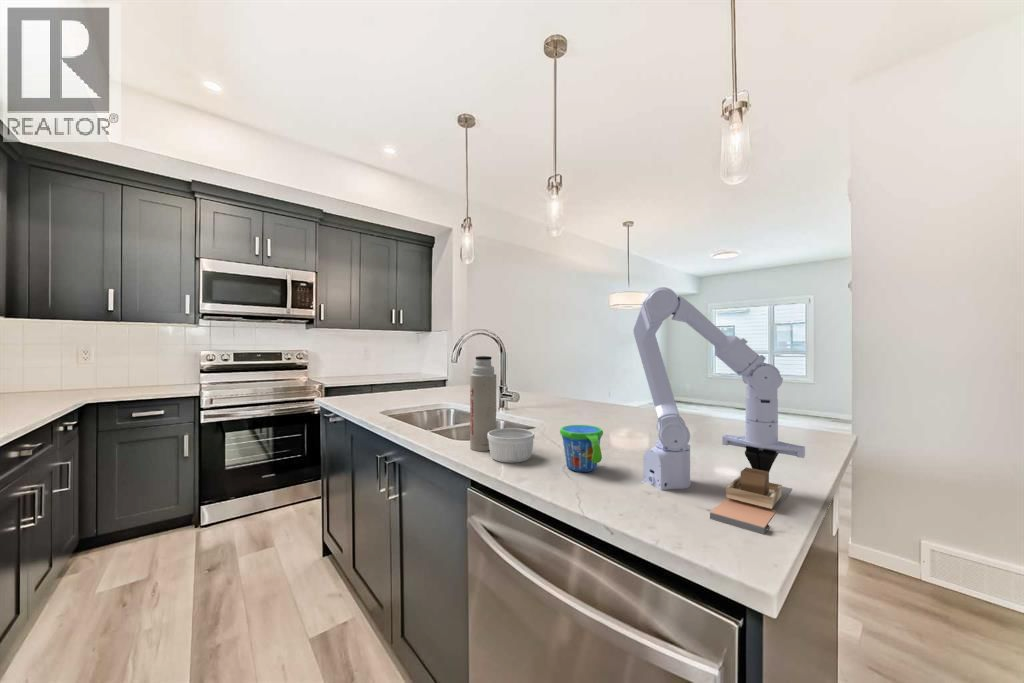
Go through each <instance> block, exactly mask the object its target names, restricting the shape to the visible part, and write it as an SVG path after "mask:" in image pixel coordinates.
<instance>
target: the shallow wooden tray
mask: <svg viewBox="0 0 1024 683" xmlns="http://www.w3.org/2000/svg"><path fill="white" fill-rule="evenodd" d="M782 486H783V485H782V484H779V483H774V482H769V492H768V494H767V495H766V496H764V495H760V494H756V493H751V492H747V491H743V490H741V475H739V476H738V477H737V478H735V479H733V481H732V482H731V483H729V484H728V485H727V486H726V488H725V497H726V498H731V499H734V500H738V501H742V502H746V503H750V504H754V505H758V506H762V507H766V508H770V509H773V507H774V505H775V504H776V503H777V501H778V500H780V497H781V496H782Z"/></svg>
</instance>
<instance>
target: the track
mask: <svg viewBox="0 0 1024 683" xmlns="http://www.w3.org/2000/svg"><path fill="white" fill-rule="evenodd" d="M791 491H793V488H792V487H786V486H783V485H782V496H781V497H780V500H778V501H777V503H776V504H775V505H774V507H773V509H770V508H766V507H762V506H758V505H754V504H750V503H746V502H742V501H738V500H734V499H731V498H727V497H726V498H724V499H723V500H722V501H721V502H720V503H719V504H718V505H717V506H716V507H714V508H713V509H712V510H711V511H710V512H709V519H711V520H713V521H718V522H721V523H724V524H727V525H730V526H731V525H732V526H734V527H738V528H741V529H745V530H748V531H752V532H755V533H758V534H762V535H765V533H766V532H767V531H768V529H769V528H770V526H771V525H770V524H769V522H770V521H771V520H772V518H773V516H774V515H775V514H776V512H777V511H778V510H779V509H780V507H781V506H782V504H783V503H784V501H785V500H786V498H787V497H788V495H790V493H791Z"/></svg>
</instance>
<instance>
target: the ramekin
mask: <svg viewBox="0 0 1024 683" xmlns="http://www.w3.org/2000/svg"><path fill="white" fill-rule="evenodd" d="M487 438H488V440H489V449H490V451H489V455H490V457H491V458H492V459H493V460H494V461H497V462H500V463H508V464H509V463H510V464H511V463H512V464H513V463H522V462H525V461H528V460H529V459H530V458H531V456H532V454H533V449H534V440H535V432H534V431H532V430H530V429H526V428H525V429H524V428H519V427H517V428H516V427H506V428H505V427H504V428H496V429H495V430H492V431H489V432H488V436H487Z"/></svg>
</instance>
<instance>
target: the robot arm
mask: <svg viewBox="0 0 1024 683" xmlns="http://www.w3.org/2000/svg"><path fill="white" fill-rule="evenodd" d="M671 315H672V317H671V320H672V321H677V322H683V323H685V324H687V325H688V326H689V327H690V328H692V329H693V330H694V331H695V332H697V333H698V334H699V335H700V336H701V337H703V338H704V339H705V340H706V341H708V342H709V343H710V344H711V345H712V346H713V347H714V356H716V357H717V358H718V359H719V360H721V362H722V363H723V364H725V365H726V366H727V367H728V368H729V369H731V370H732V371H733V372H734V373H735V374H736V375H737V376H741V379H742V382H744V384H745V385H746V387H745V389H746V391H745V392H746V394H745V395H746V396H745V436H742V435H731V434H723V435H722V437H721V438H722V441H721V442H722V444H721V445H723V446H734V447H740V448H745V450H744V455H745V457H746V458H747V460H748V463H749V464H750V468H753V469H758V470H763V471H768V472H769V473H770V471H771V469H772V466H773V464H774V463H775V462H776V458H777V457H778V455H779V454H782V455H786V456H787V455H788V456H794V457H797V458H801V459H804V458H805V457H806V446H803V445H798V444H793V443H788V442H784V441H779V399H778V389H779V388H780V387H781V386H782V384H783V381H784V378H783V377H782V374H780V373H781V372H780V370H779V369H778V368H777V367H776V366H775V365H773V364H770V363H766V362H765V360H767V357H765V356H764V355H763V354H760V355H759V354H758V353H757V352H756V351H755V350H753V349H752V347H750V346H748V344H747V343H748V340H747V339H745V338H744V337H738V336H737V335H727V334H725V333H724V332H723V331H721V330H720V328H719V327H717V326H716V325H715V324H714V323H713V322H712V321H711V320H710V319H708V318H707V317H706V316H705V315H704V314H703V313H702V312H701V311H699V309H698V308H696V307H695V305H693V304H692V303H690V302H689V301H688V300H687V299H686V298H684V297H683V296H681V295H677V293H676V292H675V291H674V290H673V289H671V288H668V287H664V286H663V287H657V288H655V289H653V290H652V291H650V293H649V294H648V295H647V296H646V298H645V299H644V301H643V302H642V304H641V306H640V310H639V312H638V315H637V318H636V320H635V323H634V326H633V331H632V332H633V336H634V340H635V343H636V347H637V350H638V353H639V357H640V360H641V364H642V368H643V370H644V373H645V374H644V375H645V378H646V380H647V384H648V388H649V391H650V395H651V398H652V402H653V404H654V409H655V412H656V416H657V423H656V429H657V435H658V439H657V440H655V443H654V444H655V445H654V446H652V448H650V449H646V451H645V452H644V453H643V454H644V455H643V480H641V484H645V483H647V484H648V485H650V486H652V487H654V488H656V489H658V490H660V491H666V490H674V489H678V490H680V489H687V488H690V487H691V445H690V444H689V442H690V440H691V433H690V430H689V428H688V427H687V424H686V422H685V420H684V419H683V417H681V416H680V413H679V409H678V406H677V403H676V400H675V397H674V393H673V390H672V387H671V383H670V380H669V376H668V373H667V369H666V367H665V362H664V360H663V357H662V353H661V350H660V346H659V343H658V340H657V335H656V334H657V332H658V330H659V329H660V327H661V325H662V324H663V322H664V321H665V320H666V319H668V318H669V317H670V316H671Z"/></svg>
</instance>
